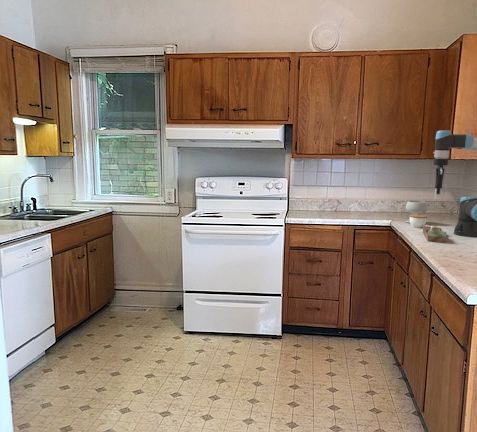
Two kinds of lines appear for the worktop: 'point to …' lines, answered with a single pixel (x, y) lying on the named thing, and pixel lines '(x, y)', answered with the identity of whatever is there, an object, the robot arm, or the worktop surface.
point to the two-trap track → (434, 235)
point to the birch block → (435, 228)
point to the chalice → (416, 207)
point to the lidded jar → (418, 220)
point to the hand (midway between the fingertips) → (437, 199)
